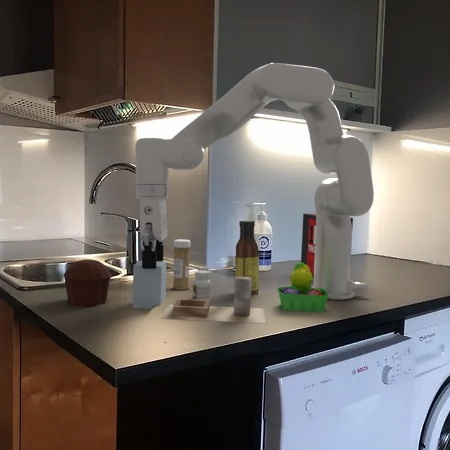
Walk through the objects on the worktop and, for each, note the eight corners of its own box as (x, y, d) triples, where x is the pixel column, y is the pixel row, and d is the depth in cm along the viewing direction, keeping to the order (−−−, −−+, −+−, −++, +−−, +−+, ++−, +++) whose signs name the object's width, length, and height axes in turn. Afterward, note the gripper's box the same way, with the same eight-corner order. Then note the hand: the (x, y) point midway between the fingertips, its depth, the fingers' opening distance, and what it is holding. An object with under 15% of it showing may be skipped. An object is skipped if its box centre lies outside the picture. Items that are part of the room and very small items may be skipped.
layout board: (263, 312, 117) (265, 274, 116) (265, 327, 105) (267, 285, 104) (168, 308, 118) (169, 270, 117) (160, 323, 106) (161, 280, 105)
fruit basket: (278, 315, 116) (280, 266, 115) (276, 305, 124) (278, 260, 123) (328, 317, 115) (331, 268, 114) (322, 307, 124) (325, 262, 123)
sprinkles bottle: (192, 289, 139) (193, 240, 138) (177, 290, 137) (178, 241, 135) (184, 286, 143) (185, 238, 142) (169, 287, 140) (170, 239, 139)
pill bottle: (192, 300, 127) (193, 269, 126) (209, 300, 127) (210, 270, 126) (192, 304, 122) (193, 273, 122) (210, 305, 123) (211, 273, 122)
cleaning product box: (349, 282, 156) (353, 218, 155) (323, 283, 154) (326, 217, 152) (324, 272, 172) (327, 213, 170) (300, 273, 170) (303, 213, 168)
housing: (165, 302, 124) (166, 261, 123) (160, 309, 117) (161, 266, 116) (139, 301, 124) (139, 260, 123) (132, 307, 117) (133, 265, 117)
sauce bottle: (261, 294, 136) (264, 220, 134) (254, 299, 130) (258, 222, 128) (237, 291, 138) (240, 219, 136) (230, 296, 132) (233, 220, 130)
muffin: (60, 297, 125) (61, 257, 124) (106, 294, 129) (106, 256, 128) (66, 309, 114) (66, 265, 113) (116, 306, 119) (116, 263, 118)
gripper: (162, 193, 109) (163, 272, 111) (173, 190, 126) (174, 258, 128) (127, 193, 109) (129, 271, 111) (143, 190, 127) (144, 258, 128)
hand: (153, 264), depth 120 cm, fingers open, 9 cm apart
